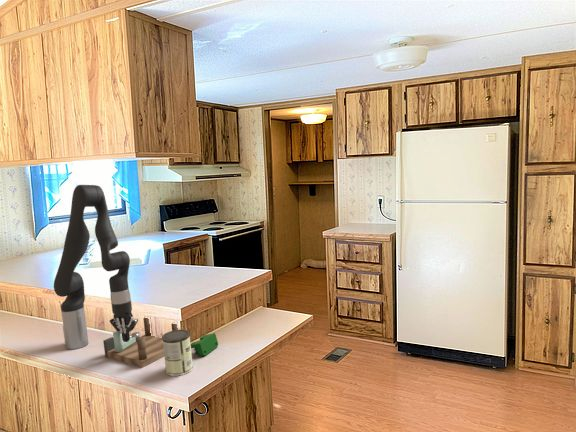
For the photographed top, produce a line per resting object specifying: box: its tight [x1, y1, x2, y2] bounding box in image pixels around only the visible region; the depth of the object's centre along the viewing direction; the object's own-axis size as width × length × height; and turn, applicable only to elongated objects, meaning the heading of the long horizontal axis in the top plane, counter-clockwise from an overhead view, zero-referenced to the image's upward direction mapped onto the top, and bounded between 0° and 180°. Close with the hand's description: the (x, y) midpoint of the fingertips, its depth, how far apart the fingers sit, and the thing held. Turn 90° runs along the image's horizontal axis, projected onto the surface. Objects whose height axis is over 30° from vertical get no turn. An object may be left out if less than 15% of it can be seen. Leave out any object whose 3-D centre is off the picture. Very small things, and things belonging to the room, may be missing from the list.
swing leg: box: [112, 330, 141, 352], centre depth 190 cm, size 14×3×8 cm, turn 161°
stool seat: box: [102, 317, 178, 368], centre depth 190 cm, size 24×22×10 cm
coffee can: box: [161, 329, 194, 377], centre depth 170 cm, size 10×10×14 cm
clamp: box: [190, 332, 219, 357], centre depth 186 cm, size 12×6×9 cm, turn 150°
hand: (126, 341), depth 184 cm, fingers closed
